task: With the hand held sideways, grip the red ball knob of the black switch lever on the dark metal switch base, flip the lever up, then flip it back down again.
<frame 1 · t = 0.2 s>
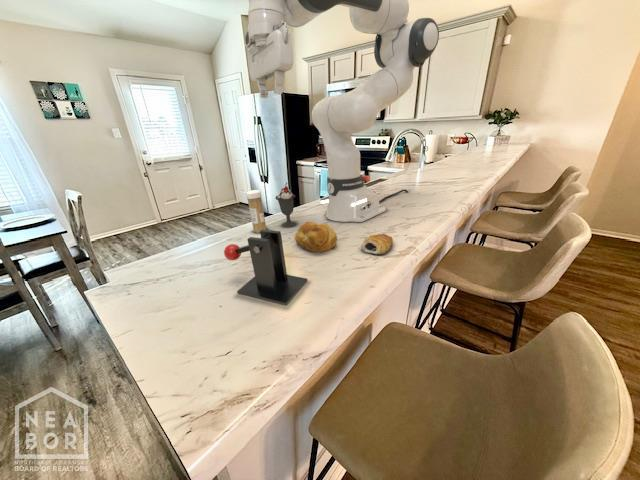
hand: (270, 96, 69), 39 cm above the breakfast bar, tool pointing down, fingers open, 8 cm apart
sundae: (289, 225, 92), on the breakfast bar
switch lever: (247, 248, 55), point 9 cm above the breakfast bar, hinge at -20.0°
bread roll: (315, 247, 74), on the breakfast bar
switch base: (273, 289, 57), on the breakfast bar
sprinkles bottle: (260, 231, 89), on the breakfast bar
pastry: (377, 249, 70), on the breakfast bar
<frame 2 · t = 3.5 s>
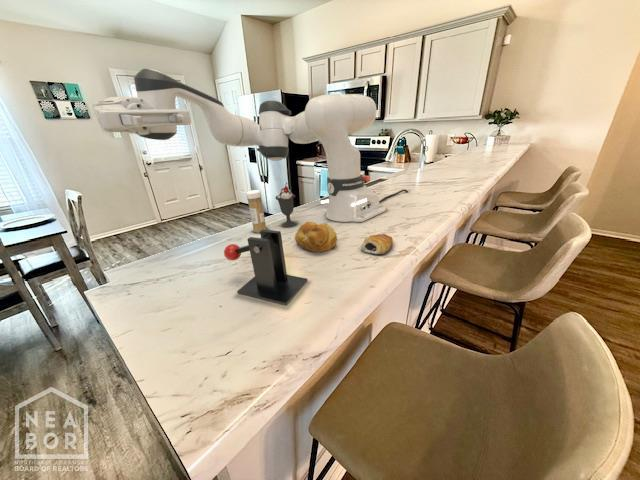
hand: (161, 120, 61), 35 cm above the breakfast bar, tool horizontal, fingers open, 8 cm apart
nothing on the breakfast bar moved.
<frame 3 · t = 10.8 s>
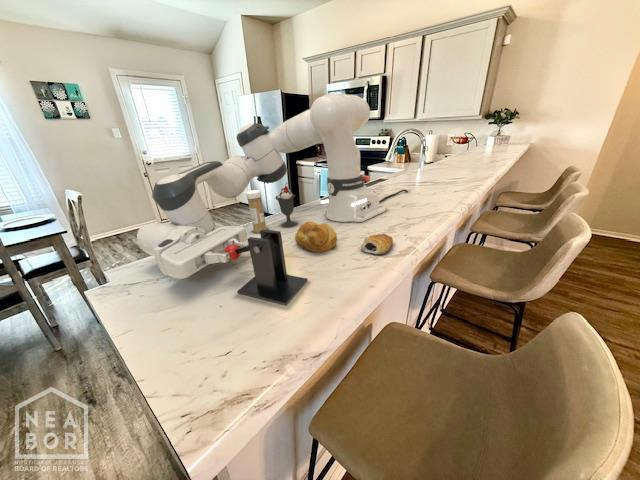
hand: (235, 252, 57), 8 cm above the breakfast bar, tool horizontal, fingers closed on switch lever, 3 cm apart
switch lever: (247, 248, 55), point 9 cm above the breakfast bar, hinge at -20.0°, touching gripper
everything else where it was.
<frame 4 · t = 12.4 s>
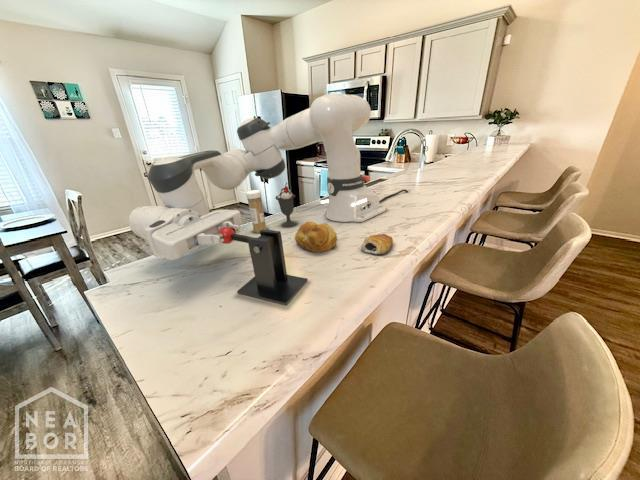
hand: (229, 234, 55), 12 cm above the breakfast bar, tool horizontal, fingers closed on switch lever, 3 cm apart
switch lever: (244, 238, 54), point 11 cm above the breakfast bar, hinge at 3.3°, touching gripper
everything else where it was.
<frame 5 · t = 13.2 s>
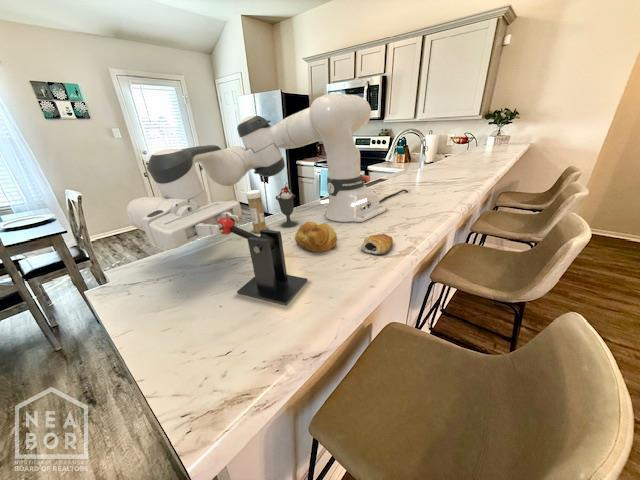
hand: (228, 224, 54), 14 cm above the breakfast bar, tool horizontal, fingers closed on switch lever, 3 cm apart
switch lever: (244, 234, 53), point 12 cm above the breakfast bar, hinge at 15.8°, touching gripper
everything else where it was.
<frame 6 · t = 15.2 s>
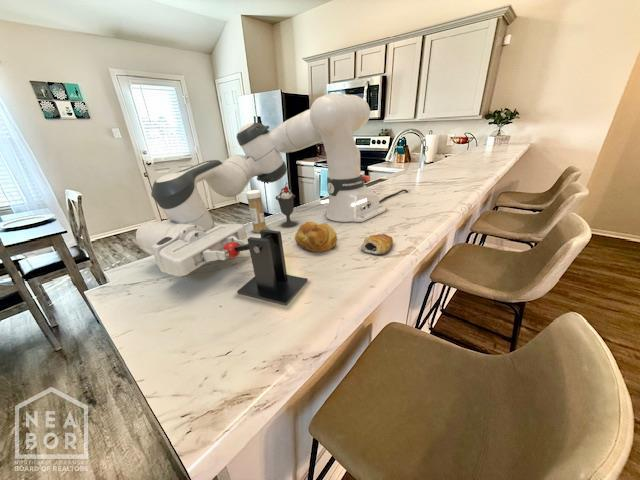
hand: (234, 250, 57), 8 cm above the breakfast bar, tool horizontal, fingers closed on switch lever, 3 cm apart
switch lever: (247, 246, 55), point 9 cm above the breakfast bar, hinge at -16.8°, touching gripper
everything else where it was.
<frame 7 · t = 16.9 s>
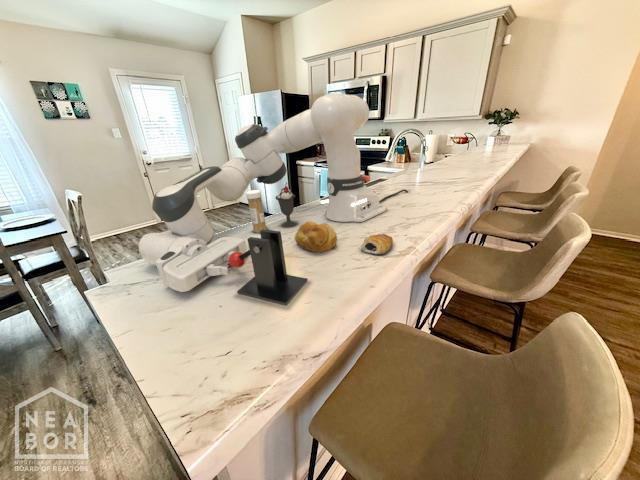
hand: (235, 266, 59), 4 cm above the breakfast bar, tool horizontal, fingers closed on switch lever, 3 cm apart
switch lever: (250, 252, 55), point 8 cm above the breakfast bar, hinge at -30.9°, touching gripper
everything else where it was.
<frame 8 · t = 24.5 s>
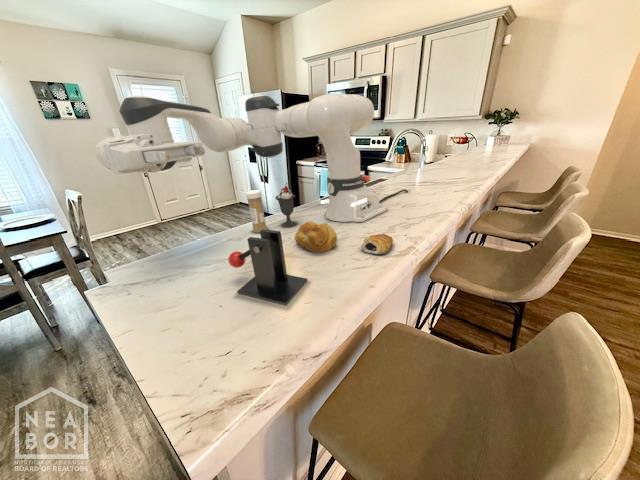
hand: (186, 152, 58), 28 cm above the breakfast bar, tool horizontal, fingers open, 8 cm apart
switch lever: (250, 252, 55), point 8 cm above the breakfast bar, hinge at -30.5°
everything else where it was.
at the end: switch lever reached +16° during the clip, -30° at the end; switch lever at -30° (first picture: -20°); the gripper is holding nothing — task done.
